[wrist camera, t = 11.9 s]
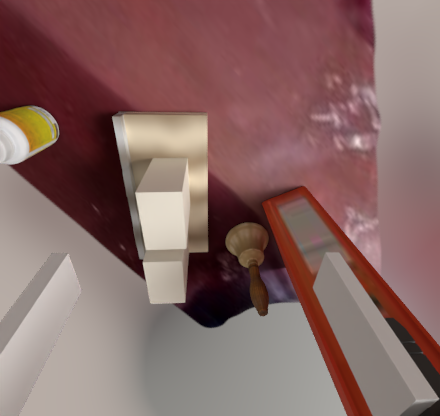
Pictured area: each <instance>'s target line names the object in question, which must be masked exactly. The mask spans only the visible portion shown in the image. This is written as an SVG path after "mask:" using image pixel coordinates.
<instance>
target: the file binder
mask: <svg viewBox="0 0 440 416" xmlns="http://www.w3.org/2000/svg"><path fill="white" fill-rule="evenodd" d="M262 205H263V208H264V211H265V213H266V216H267V219H268V221H269V224H270V227H271V229H272V232H273V235H274V237H275V240H276V243H277V246H278V248H279V251H280V254H281V256H282V259H283V262H284V264H285V267H286V269H287V272H288V274H289V277H290V279H291V282H292V284H293V286H294V289H295V291H296V294H297V296H298V298H299V301H300V303H301V305H302V308H303V310H304V313H305V315H306V317H307V320H308V322H309V325H310V327H311V330H312V332H313V334H314V337H315V339H316V342H317V344H318V346H319V349H320V351H321V354H322V356H323V358H324V361H325V363H326V366H327V368H328V370H329V373H330V375H331V378H332V380H333V382H334V385H335V387H336V390H337V392H338V394H339V397H340V399H341V402H342V404H343V406H344V409H345V411H346V414H347V416H373V415H372V413H371V411H370V409H369V407H368V405H367V403H366V401H365V398H364V396H363V394H362V392H361V390H360V388H359V386H358V383H357V381H356V379H355V377H354V375H353V373H352V371H351V369H350V366H349V364H348V362H347V360H346V358H345V356H344V354H343V351H342V349H341V347H340V345H339V343H338V341H337V339H336V336H335V334H334V332H333V330H332V328H331V326H330V324H329V322H328V319H327V317H326V315H325V313H324V311H323V309H322V307H321V304H320V302H319V300H318V298H317V296H316V294H315V292H314V290H313V285H314V282H315V280H316V277H317V274H318V271H319V269H320V266H321V263H322V260H323V258H324V255H325V252H339V253H340V254H341V256H342V257H343V259H344V260H345V262H346V263H347V265H348V266H349V268H350V269H351V270H352V272H353V273H354V275H355V276H356V278H357V279H358V281H359V282H360V284H361V285H362V287H363V288H364V289H365V291H366V292H367V294H368V295H369V297H370V298H371V300H372V301H373V303H374V304H375V306H376V307H377V308H378V310H379V311H380V313H381V314H382V316H383V317H384V318H394V319H395V320H397V321H398V322H399V323H400V324H401V325H402V326H403V327H405V328H406V329H407V331H408V332H409V334H410V335H411V336H412V338H413V339H414V340H415V343H416V344H418V346H419V347H420V348H421V350H422V351H423V354H424V355H426V357H427V358H428V359H429V361H430V362H431V363H432V365H433V366H434V367H435V369H436V370H437V372H438V373H439V374H440V346H439V345H438V344H437V342H436V341H435V340H434V339H433V338H432V337H431V335H430V334H429V333H428V332H427V331H426V329H425V328H424V327H423V326H422V325H421V323H420V322H419V321H418V320H417V319H416V317H415V316H414V315H413V314H412V313H411V312H410V310H409V309H408V308H407V307H406V306H405V304H404V303H403V302H402V301H401V300H400V299H399V297H398V296H397V295H396V294H395V293H394V291H393V290H392V289H391V288H390V287H389V285H388V284H387V283H386V282H385V281H384V280H383V278H382V277H381V276H380V275H379V274H378V272H377V271H376V270H375V269H374V268H373V266H372V265H371V264H370V263H369V262H368V261H367V259H366V258H365V257H364V256H363V255H362V253H361V252H360V251H359V250H358V249H357V248H356V246H355V245H354V244H353V243H352V242H351V240H350V239H349V238H348V237H347V236H346V234H345V233H344V232H343V231H342V230H341V229H340V227H339V226H338V225H337V224H336V223H335V221H334V220H333V219H332V218H331V217H330V216H329V214H328V213H327V212H326V211H325V210H324V208H323V207H322V206H321V205H320V204H319V202H318V201H317V200H316V199H315V198H314V197H313V195H312V194H311V193H310V192H309V191H308V189H307V188H306V187H304V186H302V187H300V188H297V189H294V190H292V191H289V192H287V193H284V194H281V195H279V196H276V197H274V198H271V199H268V200H266V201H264V202H262Z"/></svg>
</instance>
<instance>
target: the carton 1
mask: <svg viewBox="0 0 440 416" xmlns="http://www.w3.org/2000/svg"><path fill="white" fill-rule="evenodd" d="M135 194H136V199H137V205H138V210H139V216H140V221H141V226H142V232H143V237H144V243H145V248H146V250H168V249H186V248H187V237H188V226H189V214H190V191H189V174H188V158H153V159H152V161H151V163H150V165H149V167H148V169H147V171H146V173H145V175H144V177H143V179H142V180H141V182H140V184H139V186H138V188H137V190H136V192H135Z"/></svg>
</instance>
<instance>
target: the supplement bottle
mask: <svg viewBox="0 0 440 416" xmlns="http://www.w3.org/2000/svg"><path fill="white" fill-rule="evenodd" d="M58 136H59V128H58V124H57V122H56V121H55V119H54V118H53V116H52V115H51V114H49V113H48V112H47V111H46V110H44V109H42V108H40V107H37V106H23V107H19V108H15V109H11V110H7V111H3V112H0V164H1V163H3V164H17V163H20V162H22V161H24V160H26V159H27V158H29V157H31V156H33V155H35V154H36V153H38V152H40V151H42V150H44V149H46V148H47V147H49V146H51V145H52V144H54V143H55V142H56V141H57V139H58Z"/></svg>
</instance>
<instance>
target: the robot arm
mask: <svg viewBox="0 0 440 416" xmlns="http://www.w3.org/2000/svg"><path fill="white" fill-rule="evenodd" d="M313 290H314V292H315V294H316V296H317V298H318V300H319V302H320V304H321V307H322V309H323V311H324V313H325V315H326V317H327V319H328V322H329V324H330V326H331V328H332V330H333V332H334V334H335V336H336V339H337V341H338V343H339V345H340V347H341V349H342V351H343V354H344V356H345V358H346V360H347V362H348V364H349V366H350V369H351V371H352V373H353V375H354V377H355V379H356V381H357V383H358V386H359V388H360V390H361V392H362V394H363V396H364V398H365V401H366V403H367V405H368V407H369V409H370V411H371V413H372V415H373V416H440V374H439V373H438V372H437V370H436V369H435V367H434V366H433V365H432V363H431V362H430V361H429V359H428V358H427V357H426V355H424V354H423V351H422V350H421V348H420V347H419V346H418V344H416V343H415V340H414V339H413V338H412V336H411V335H410V334H409V332H408V331H407V329H406V328H405V327H403V326H402V325H401V324H400V323H399V322H398V321H397V320H395V319H394V318H384V317H383V316H382V314H381V313H380V311H379V310H378V308H377V307H376V306H375V304H374V303H373V301H372V300H371V298H370V297H369V295H368V294H367V292H366V291H365V289H364V288H363V287H362V285H361V284H360V282H359V281H358V279H357V278H356V276H355V275H354V273H353V272H352V270H351V269H350V268H349V266H348V265H347V263H346V262H345V260H344V259H343V257H342V256H341V254H340V253H339V252H325V255H324V258H323V260H322V263H321V266H320V269H319V271H318V274H317V277H316V280H315V282H314V285H313ZM81 292H82V290H81V287H80V284H79V281H78V279H77V276H76V273H75V270H74V268H73V265H72V262H71V259H70V256H69V254H68V253H52V254H51V255H50V257H49V258H48V259H47V261H46V262H45V263H44V265H43V266H42V267H41V269H40V270H39V271H38V273H37V274H36V275H35V277H34V278H33V279H32V281H31V282H30V283H29V284H28V286H27V287H26V289H25V290H24V291H23V292H22V294H21V295H20V296H19V298H18V299H17V300H16V302H15V303H14V305H13V306H12V307H11V309H10V310H9V311H8V312H7V314H6V315H5V316H4V318H3V319H2V320H1V322H0V416H19V414H20V412H21V410H22V408H23V406H24V404H25V402H26V400H27V398H28V396H29V394H30V392H31V390H32V388H33V386H34V384H35V382H36V381H37V379H38V376H39V374H40V373H41V371H42V369H43V367H44V365H45V363H46V361H47V359H48V357H49V355H50V353H51V351H52V349H53V347H54V345H55V343H56V341H57V339H58V337H59V335H60V333H61V331H62V329H63V327H64V325H65V323H66V321H67V319H68V317H69V315H70V313H71V311H72V309H73V307H74V306H75V304H76V301H77V300H78V298H79V296H80V293H81Z"/></svg>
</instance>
